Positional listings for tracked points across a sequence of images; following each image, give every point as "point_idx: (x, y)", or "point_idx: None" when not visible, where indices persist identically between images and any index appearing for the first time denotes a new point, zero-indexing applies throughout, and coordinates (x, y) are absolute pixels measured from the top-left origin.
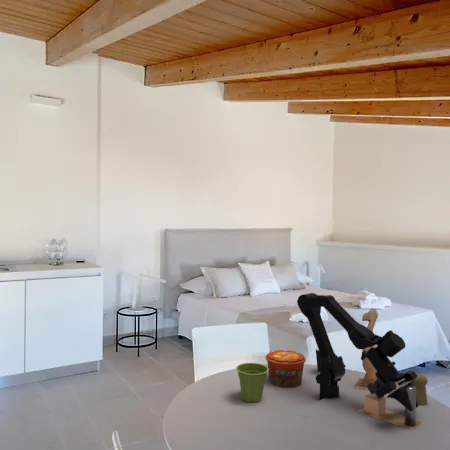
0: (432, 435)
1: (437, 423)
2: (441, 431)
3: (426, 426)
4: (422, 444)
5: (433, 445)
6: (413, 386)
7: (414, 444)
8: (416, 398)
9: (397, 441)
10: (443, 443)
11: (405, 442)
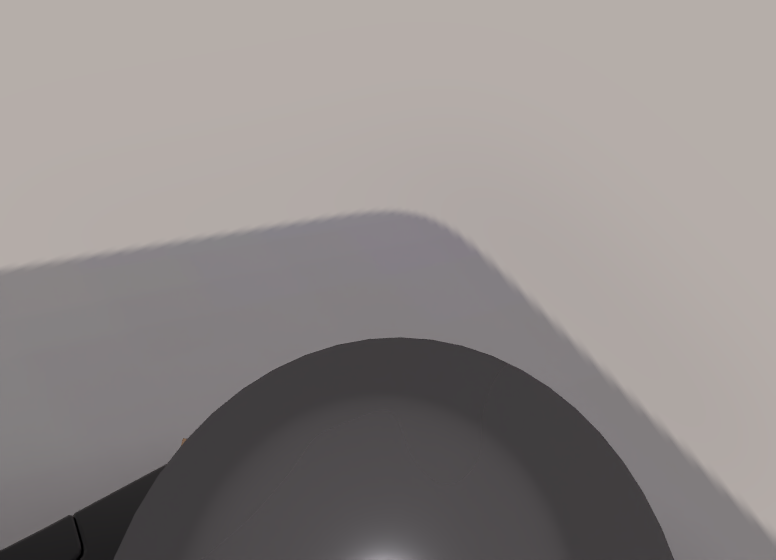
0: (326, 311)
1: (4, 338)
2: (188, 269)
3: (156, 408)
4: (546, 334)
5: (495, 265)
6: (158, 546)
7: (596, 384)
8: (151, 473)
9: (670, 523)
10: (408, 217)
11: (627, 457)
